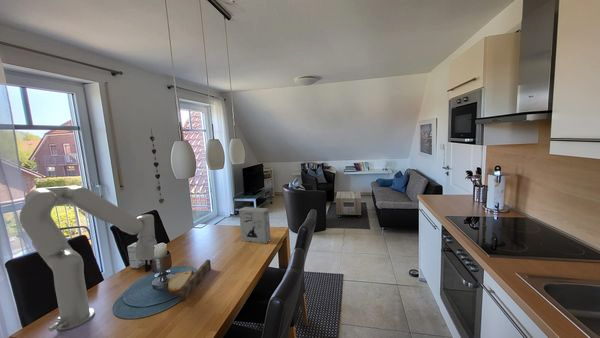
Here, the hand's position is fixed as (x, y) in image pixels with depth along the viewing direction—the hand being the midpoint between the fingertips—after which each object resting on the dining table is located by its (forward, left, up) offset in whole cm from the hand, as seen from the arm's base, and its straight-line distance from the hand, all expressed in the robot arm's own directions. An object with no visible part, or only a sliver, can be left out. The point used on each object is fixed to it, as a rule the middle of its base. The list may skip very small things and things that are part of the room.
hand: (148, 270), depth 135 cm
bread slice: (+2, -17, -9) cm, 19 cm away
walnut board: (+1, -26, -8) cm, 27 cm away
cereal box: (+58, -44, -9) cm, 74 cm away
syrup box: (+21, +24, -9) cm, 33 cm away
